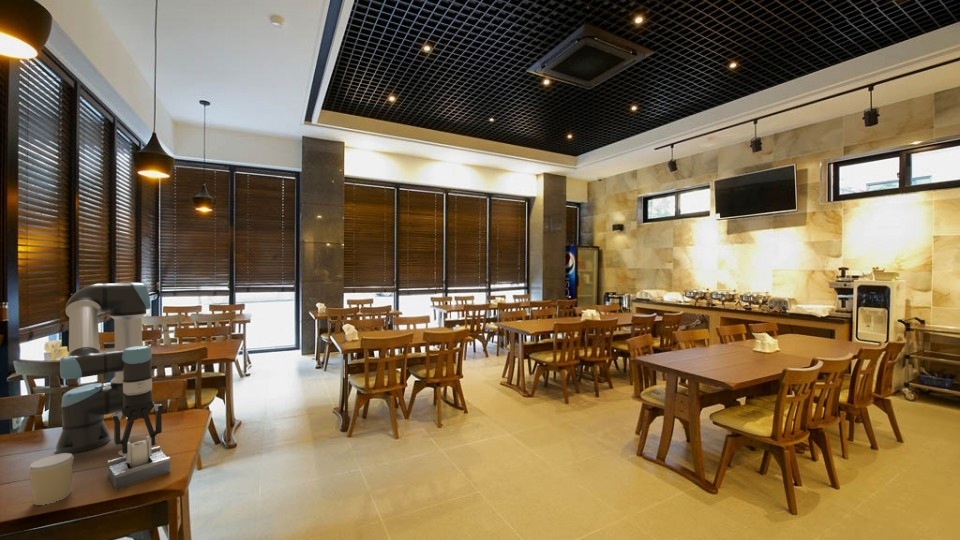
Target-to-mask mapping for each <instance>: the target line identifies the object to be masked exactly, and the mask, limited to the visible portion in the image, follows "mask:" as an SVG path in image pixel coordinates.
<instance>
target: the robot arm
mask: <svg viewBox="0 0 960 540" xmlns="http://www.w3.org/2000/svg"><path fill="white" fill-rule="evenodd" d="M151 308H152V305H151V299H150V293H149V289H148V287H147V285H146V284H145V283H142V282H118V283H117V282H114V283H95V284H90V285H87V286H84V287H82V288H81V289H78V290H77V291H76V292H74V293H73V295H72V296H71V297H70V298H69V299H68V300H67V302H66V305H65V314H66V315H65V316H67V317H68V318H69V320H68V321H69V322H68V356H64V357H61V358H60V360H59V375H60V379H62V380H71V379H72V380H73V379H80V378H81V379H82V378H87V377H92V376H99V375H106V374H112V373H114V374H115V376H114V377H113V378H112V379H111V380H110V385H105V386H104V383H102V382H98V383H90V384H85V385H81V386H78V387H75V388H72V389H70V390H68V391H66V392H64V393H63V395H62V397H61V405H60V407H61V421H62V424H61V427H62V428H61V429H62V430H61V433H60V435H59V438H58V440H57V442H56V445H55V453H56V454H61V453H71V454H77V453H82V452H86V451H89V450H90V451H91V450H92V449H95V448H98V447H100V446H103V445H105V444H107V443H108V442H109V441H110V440H111V433H110V431H109V429H108V427H107V425H106V423H105V419H104V418H105V417H104V416H107V415H111V419H112V421H113V442H114V443H115V445H117V446H119V445H121V450H122V452H123V454H126V461H127V463H131V444H132V443H131V442H130V441H129V439H130V436H131V434H132V433H131V432H132V429H133V425H134V423H135V421H137V420H139V419H143V421H144V424H145V427H146V430H147V431H148V434H149V435H147V436H146V439H147V441H148V457H151V456H152V450H151V448H152V446H155V445H156V442H155V439H156V436H157V435H160V434H161V433H162V431H163V428H162V426H163V425H162V423H163V422H162V420H163V419H162V411H163V408H164V405H163V404H162V403H157V404H156V403H154V402H153V390H152V389H153V378H152V377H153V375H152V373H153V372H152V369H153V368H152V367H153V364H152V362H153V361H152V359H153V353H152V347H150V346H149V345H143V321H142V320H143V319H142V318H143V317H144V316H145V315H147V310H150V309H151ZM101 313H109V314H108V315H109V317H110V318H112V319H113V320H114V321H113V322H114V350H111V351H103V352H100V338H99V337H100V335H99V334H100V333H99V317H98V316H99V314H101ZM152 410H154V411H155V413H154V414H155V418H154V419H155V429H154V427H153V424H152V422H151V418H150V412H151V411H152ZM123 416H124V417H126V418H127V420H126V423H125V424H126V425H125V427H124V431H123V434H122V439H121V421H120V420H121V419H122V417H123Z"/></svg>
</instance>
